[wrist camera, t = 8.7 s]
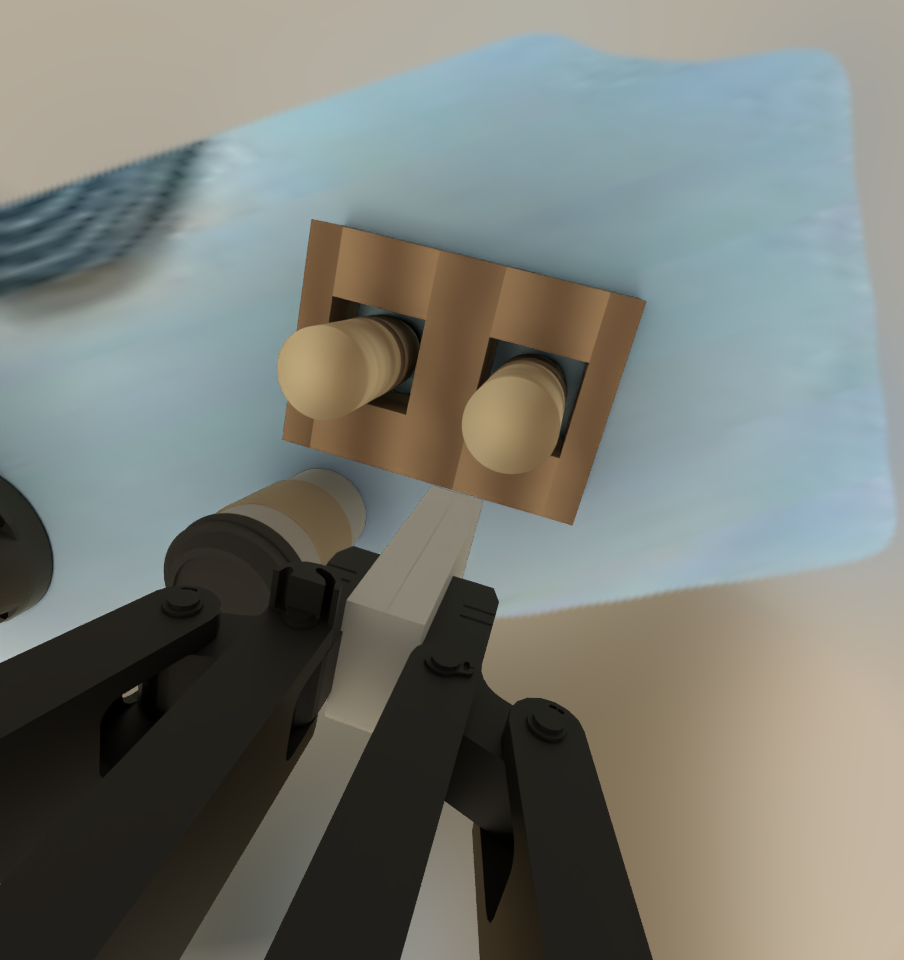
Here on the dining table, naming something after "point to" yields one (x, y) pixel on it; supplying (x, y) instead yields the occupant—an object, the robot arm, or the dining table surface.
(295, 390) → the peg
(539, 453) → the peg
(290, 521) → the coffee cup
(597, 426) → the board
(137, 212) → the dining table surface
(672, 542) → the dining table surface
